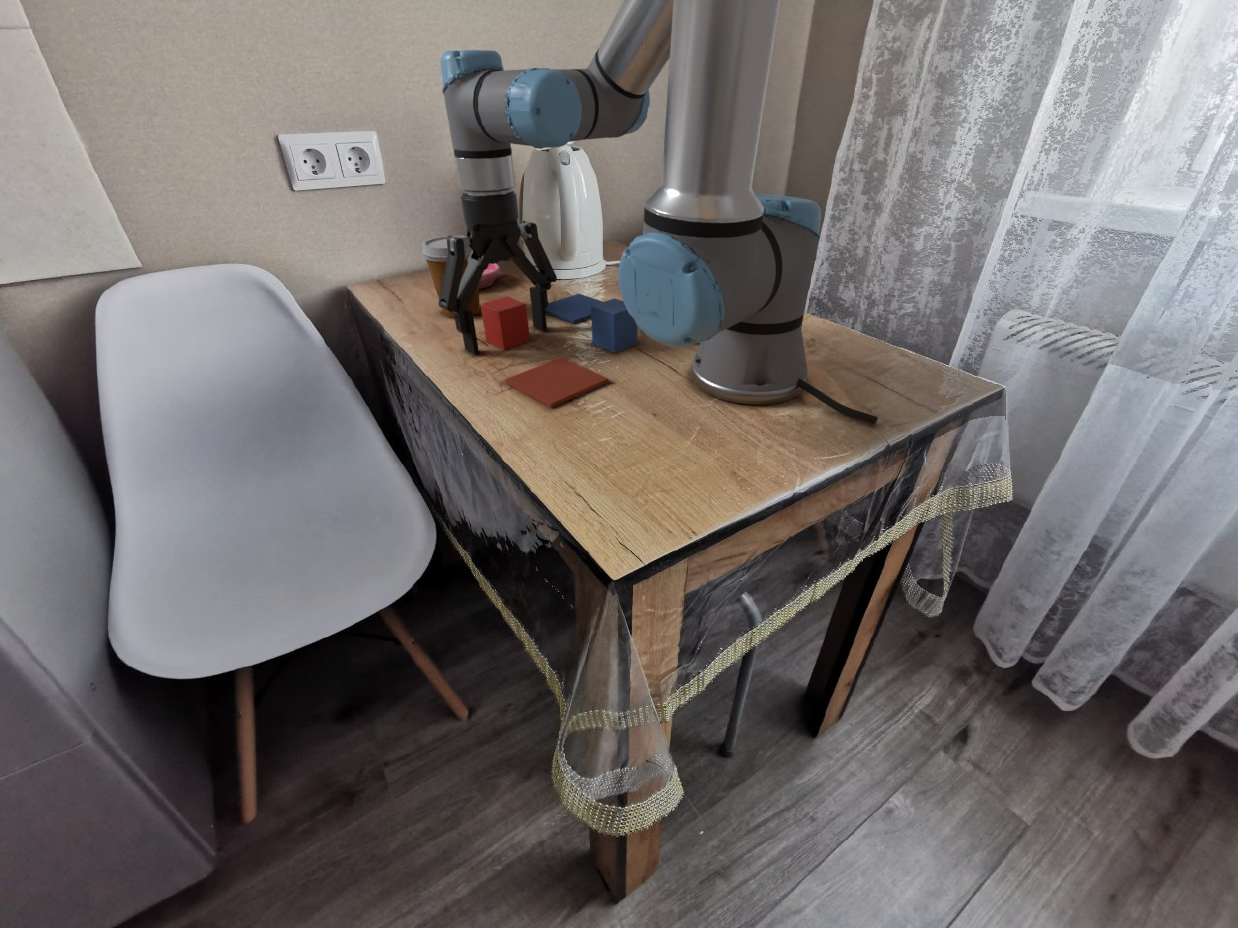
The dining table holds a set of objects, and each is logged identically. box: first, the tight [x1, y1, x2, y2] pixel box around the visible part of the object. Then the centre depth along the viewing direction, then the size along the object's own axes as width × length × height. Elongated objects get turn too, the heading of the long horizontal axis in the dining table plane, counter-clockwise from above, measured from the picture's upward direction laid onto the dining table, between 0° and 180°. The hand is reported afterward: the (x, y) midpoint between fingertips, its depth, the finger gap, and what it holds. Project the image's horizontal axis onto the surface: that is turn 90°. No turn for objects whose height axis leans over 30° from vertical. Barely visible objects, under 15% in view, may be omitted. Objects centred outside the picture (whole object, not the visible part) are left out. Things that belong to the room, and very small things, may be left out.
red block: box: [480, 296, 531, 350], centre depth 87 cm, size 5×5×6 cm
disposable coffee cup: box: [421, 235, 481, 319], centre depth 96 cm, size 10×10×12 cm
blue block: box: [590, 298, 638, 353], centre depth 85 cm, size 5×5×6 cm
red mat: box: [504, 357, 609, 409], centre depth 76 cm, size 10×10×1 cm
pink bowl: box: [479, 263, 501, 290], centre depth 112 cm, size 12×12×3 cm
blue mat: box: [545, 293, 604, 324], centre depth 100 cm, size 10×10×1 cm
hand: (507, 339), depth 88 cm, fingers open, 12 cm apart
